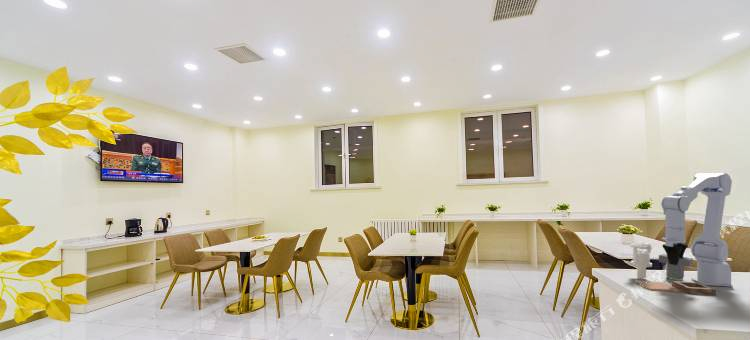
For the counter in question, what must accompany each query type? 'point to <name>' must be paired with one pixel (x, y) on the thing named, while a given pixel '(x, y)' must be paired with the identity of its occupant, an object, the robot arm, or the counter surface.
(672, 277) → the supplement bottle
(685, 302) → the counter surface
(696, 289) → the walnut holder
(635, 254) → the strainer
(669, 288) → the terracotta coaster
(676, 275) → the dark grey block
